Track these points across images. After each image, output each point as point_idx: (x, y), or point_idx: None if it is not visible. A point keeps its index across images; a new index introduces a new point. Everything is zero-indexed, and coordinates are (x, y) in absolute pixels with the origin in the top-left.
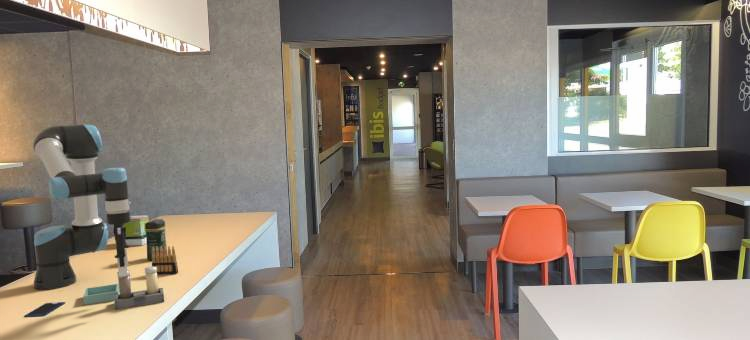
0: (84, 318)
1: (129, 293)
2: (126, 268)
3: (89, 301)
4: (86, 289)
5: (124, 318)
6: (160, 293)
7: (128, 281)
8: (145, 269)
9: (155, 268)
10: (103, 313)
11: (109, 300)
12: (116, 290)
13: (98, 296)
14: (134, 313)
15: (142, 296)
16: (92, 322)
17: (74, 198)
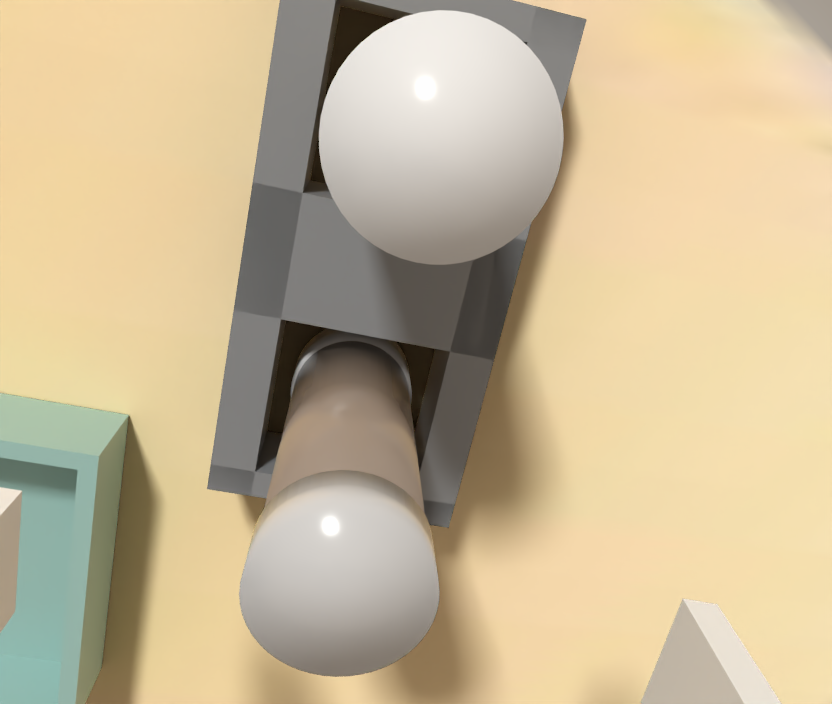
0: (491, 691)
1: (403, 397)
2: (775, 700)
3: (97, 649)
4: None
5: (751, 459)
6: (548, 52)
7: (410, 466)
8: (468, 259)
9: (536, 62)
10: (474, 571)
11: (118, 490)
12: (39, 458)
13: (89, 606)
14: (689, 368)
15: (503, 267)
16: (639, 656)
17: None
